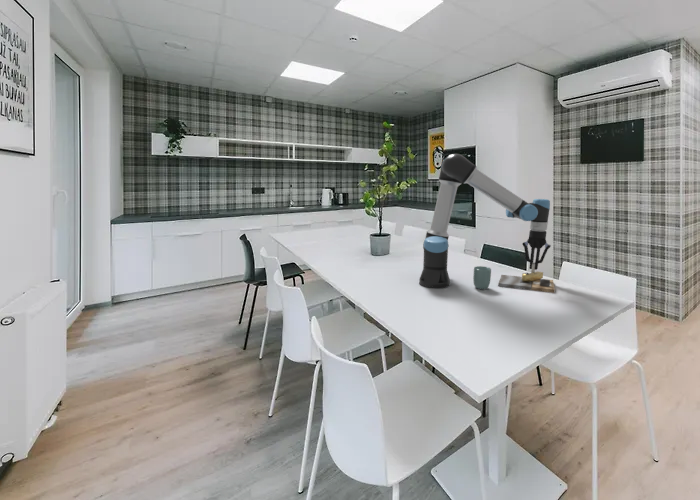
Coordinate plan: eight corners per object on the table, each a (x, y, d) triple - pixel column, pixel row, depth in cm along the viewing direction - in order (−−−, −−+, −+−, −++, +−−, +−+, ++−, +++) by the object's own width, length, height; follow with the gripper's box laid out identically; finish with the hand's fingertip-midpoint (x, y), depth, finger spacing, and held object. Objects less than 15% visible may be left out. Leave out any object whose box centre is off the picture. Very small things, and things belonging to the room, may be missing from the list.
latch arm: (527, 282, 170) (528, 274, 169) (520, 280, 173) (520, 272, 172) (543, 278, 177) (544, 270, 176) (536, 276, 180) (536, 269, 180)
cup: (491, 291, 164) (492, 270, 162) (473, 290, 166) (475, 269, 164) (488, 286, 172) (489, 266, 170) (471, 285, 173) (472, 265, 171)
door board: (498, 286, 171) (498, 277, 171) (501, 277, 187) (502, 269, 186) (554, 292, 160) (555, 283, 160) (552, 283, 176) (553, 274, 175)
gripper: (522, 229, 175) (517, 274, 180) (551, 232, 168) (545, 279, 173) (525, 228, 181) (520, 271, 186) (553, 230, 174) (547, 275, 179)
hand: (532, 275), depth 179 cm, fingers closed
